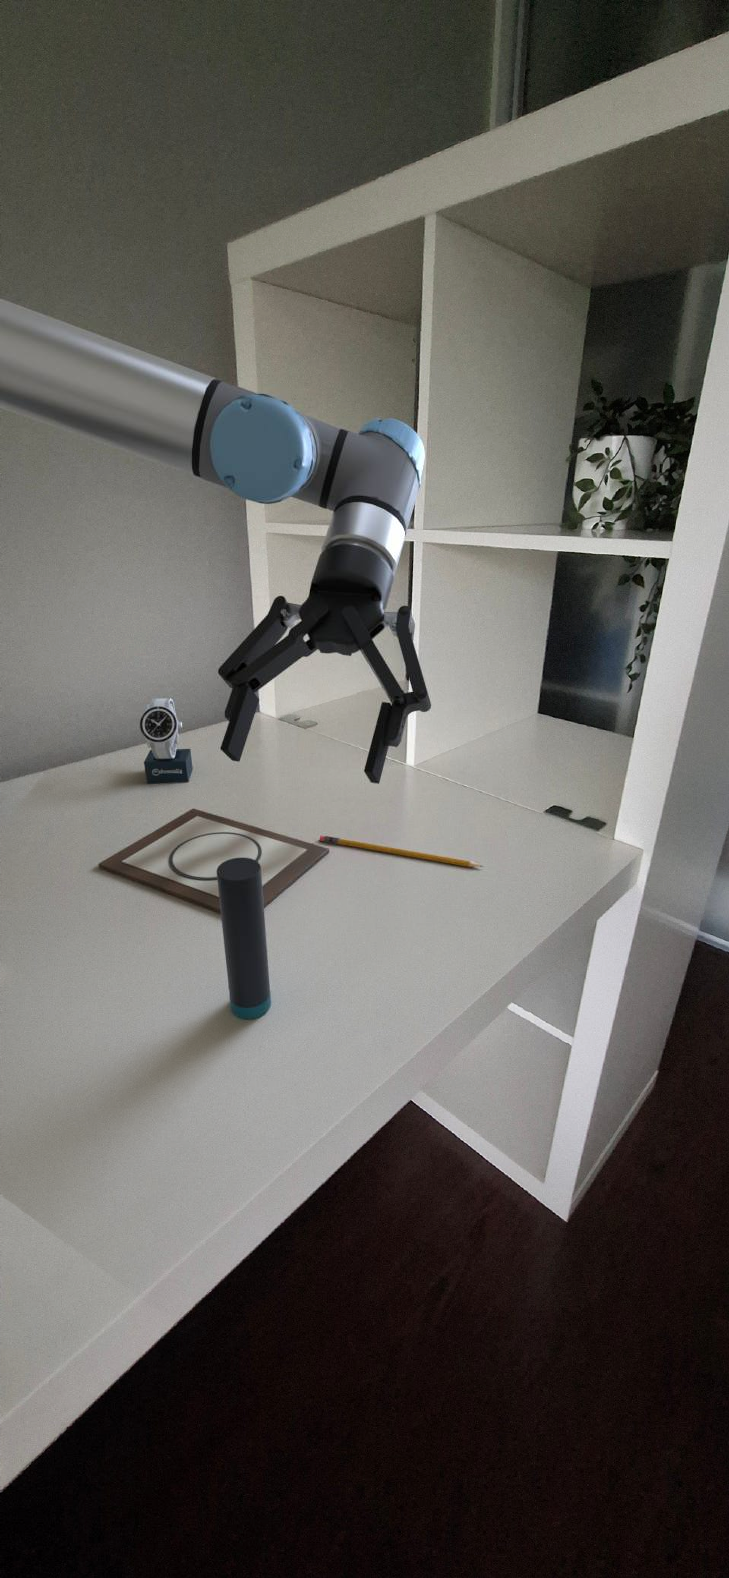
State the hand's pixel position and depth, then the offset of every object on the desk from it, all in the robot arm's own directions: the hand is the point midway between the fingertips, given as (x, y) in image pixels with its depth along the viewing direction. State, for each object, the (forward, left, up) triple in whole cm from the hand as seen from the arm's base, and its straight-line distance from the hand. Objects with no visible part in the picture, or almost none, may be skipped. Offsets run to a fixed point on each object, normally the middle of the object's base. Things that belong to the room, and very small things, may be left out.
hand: (298, 766), depth 60 cm
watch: (-34, +17, -16) cm, 41 cm away
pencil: (+3, +14, -16) cm, 22 cm away
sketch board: (-14, +3, -15) cm, 21 cm away
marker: (+3, -13, -15) cm, 20 cm away
